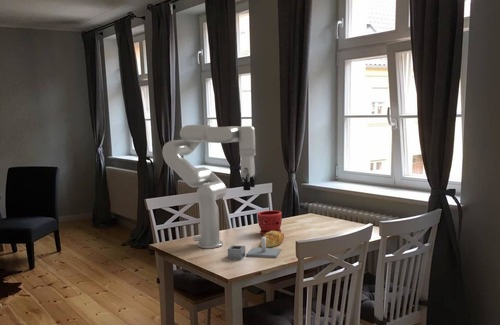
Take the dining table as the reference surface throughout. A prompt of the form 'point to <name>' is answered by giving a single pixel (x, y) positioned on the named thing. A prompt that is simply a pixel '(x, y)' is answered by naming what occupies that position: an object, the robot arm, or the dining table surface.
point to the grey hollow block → (236, 252)
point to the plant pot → (269, 221)
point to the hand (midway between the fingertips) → (249, 188)
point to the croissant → (273, 238)
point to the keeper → (263, 250)
